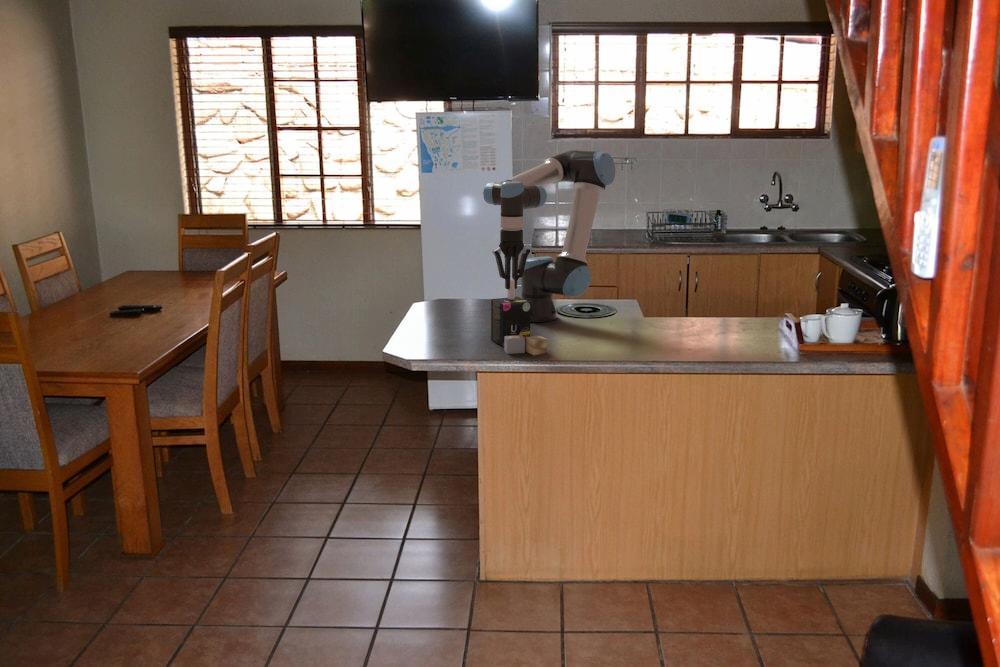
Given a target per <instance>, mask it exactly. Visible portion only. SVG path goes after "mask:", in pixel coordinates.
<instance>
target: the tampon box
mask: <svg viewBox="0 0 1000 667" xmlns="http://www.w3.org/2000/svg"><path fill="white" fill-rule="evenodd" d="M490 305H491V306H490V311H491V312H490V313H491V314H490V319H491V320H490V326H491V328H490V338H491V339H490V341H492V342H494V343H496V344H499V346H502V347H504V336H518V335H522V336H523V337H524V338H525V345H526V337H530V336H531V322H530V321H531V302H530V301H527V300H525V299H522V298H521V296H520V297H519V296H514V299H509V298H508V297H500V298H499V297H497V298H492V299H490Z"/></svg>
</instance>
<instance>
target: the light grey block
mask: <svg viewBox="0 0 1000 667" xmlns="http://www.w3.org/2000/svg"><path fill="white" fill-rule="evenodd" d="M503 348H504V350H503V351H504V352H505V353H506V355H509V354H525V352H526V344H525V338H524V337H523V336H522V335H518V336H504V346H503Z"/></svg>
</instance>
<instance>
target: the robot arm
mask: <svg viewBox="0 0 1000 667" xmlns="http://www.w3.org/2000/svg"><path fill="white" fill-rule="evenodd" d="M615 177H616V164H615V161H614V159H613V157H612V156H611V155H610V153H608V152H603V151H598V150H596V151H595V150H594V151H591V150H589V151H588V150H587V151H586V150H567V151H564V152H562V153H558V154H556V155H553V156H550V157H549V158H547V159H545V160H544V161H543V162H542V163H541V164H540V165H537V166H535V167H533V168H530V169H528V170H526V171H524V172H521V173H519V174H517V175H515V176H513V177H510V178H507V179H506V180H504V181H501V182H495V181H494V182H488V183H487V184H485V186H484V189H483V192H482V194H483V200H484V201H485V203H487V204H489V205H492V206H500V228H501V229H500V234H499V235H500V238H499V239H500V242H499V244H498V247H497V248H496V249H493V250H492V254H493V255H494V258H495V261H496V265H497V271H498V275H499V278H501V279H504V280H505V281H504V288H505V289H506V290H507V298H509V299H514V297H515V290H517V288H518V280H519V279H520V278H521V291H520V292H521V296H520V298H522V299H525V300H527V301H530V302H531V321H530V323H546V322H547V323H548V322H551V321H555V320H556V319H557V309H556V306H555V303H554V300H553V295H559V296H565V297H568V298H570V297H573V298H578V297H581V296H582V295H584V294H585V293H586V291H587V290H588V288H589V287H590V285H591V279H592V275H591V270H590V268H589V267H588V261H587V259H586V254H587V251H588V245H589V242H590V237H591V233H592V228H593V224H594V219H595V216H596V211H597V207H598V202H599V197H600V195H602V194H603V193H604V192H606V191H605V190H606V187H607V186H610V185H611V184H612V183H613V182H614V180H615ZM561 182H567V183H569V182H570V183H573V187H575V191H576V192H575V196H574V200H573V203H572V208H571V213H570V215H569V216H570V217H569V221H568V226H567V228H566V229H567V230H566V234H565V238H564V242H563V247H562V251H561V253H559V254H557V256H556V259H555V261H554V257H553V256H536V257H529V254H530V253H531V249H530V248H528V247H525V244H524V229H523V228H524V210H527V209H537V208H540V207H542V206H544V204H545V203H547V202H546V201H547V197H548V194H547V191H546V189H545V187H546V186H547V185H549V184H551V185H552V184H553V185H555V184H559V183H561ZM501 254H503V257H504V264H503V260H502V255H501ZM520 254H521V256H520ZM519 256H520V260H519Z"/></svg>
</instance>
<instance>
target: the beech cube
mask: <svg viewBox="0 0 1000 667" xmlns="http://www.w3.org/2000/svg"><path fill="white" fill-rule="evenodd" d="M547 347H548V338H546V337H543V336H541V335H530V337H526V344H525V352H526V353H527V354H530V355H531V356H538V355H545V354H547V353H548V348H547Z"/></svg>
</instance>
